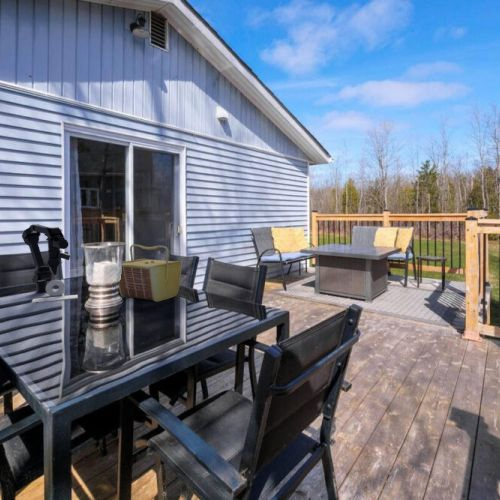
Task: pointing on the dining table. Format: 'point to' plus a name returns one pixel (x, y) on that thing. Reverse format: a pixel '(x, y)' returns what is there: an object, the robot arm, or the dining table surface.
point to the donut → (58, 292)
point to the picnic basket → (150, 277)
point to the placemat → (55, 298)
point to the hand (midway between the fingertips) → (55, 274)
